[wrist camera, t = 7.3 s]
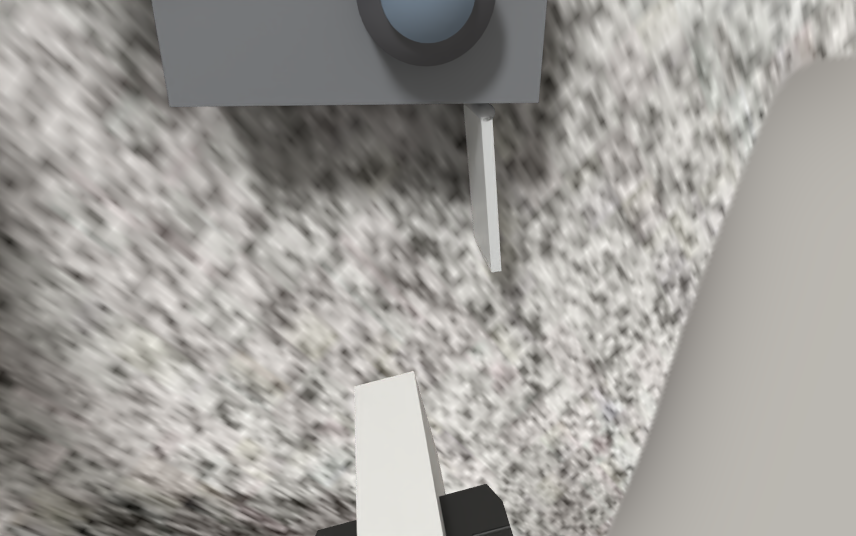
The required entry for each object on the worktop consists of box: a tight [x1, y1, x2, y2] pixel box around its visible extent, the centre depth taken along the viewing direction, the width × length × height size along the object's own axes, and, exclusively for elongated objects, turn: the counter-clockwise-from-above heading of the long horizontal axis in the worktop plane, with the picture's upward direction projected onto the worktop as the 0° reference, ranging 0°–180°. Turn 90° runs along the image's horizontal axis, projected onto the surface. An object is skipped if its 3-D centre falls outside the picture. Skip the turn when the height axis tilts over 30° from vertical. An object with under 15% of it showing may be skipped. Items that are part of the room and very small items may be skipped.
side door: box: [463, 103, 501, 272], centre depth 35 cm, size 10×1×6 cm, turn 6°
